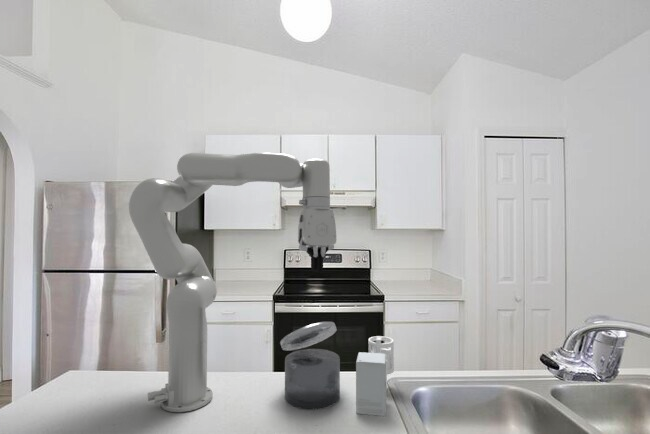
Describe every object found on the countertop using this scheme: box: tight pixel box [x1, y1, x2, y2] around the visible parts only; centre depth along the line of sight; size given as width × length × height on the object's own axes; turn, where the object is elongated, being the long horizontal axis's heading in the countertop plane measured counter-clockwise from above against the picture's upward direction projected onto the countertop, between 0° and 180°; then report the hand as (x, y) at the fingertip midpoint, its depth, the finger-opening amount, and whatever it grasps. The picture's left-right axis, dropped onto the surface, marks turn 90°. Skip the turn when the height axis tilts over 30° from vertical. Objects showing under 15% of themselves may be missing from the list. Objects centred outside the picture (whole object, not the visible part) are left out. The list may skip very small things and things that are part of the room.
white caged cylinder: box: [368, 335, 395, 392], centre depth 96 cm, size 7×7×15 cm
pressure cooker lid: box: [279, 321, 337, 351], centre depth 95 cm, size 16×16×4 cm
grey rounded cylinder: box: [284, 348, 341, 411], centre depth 93 cm, size 15×15×10 cm
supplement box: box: [355, 351, 387, 417], centre depth 86 cm, size 7×7×13 cm
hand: (317, 271), depth 93 cm, fingers closed
